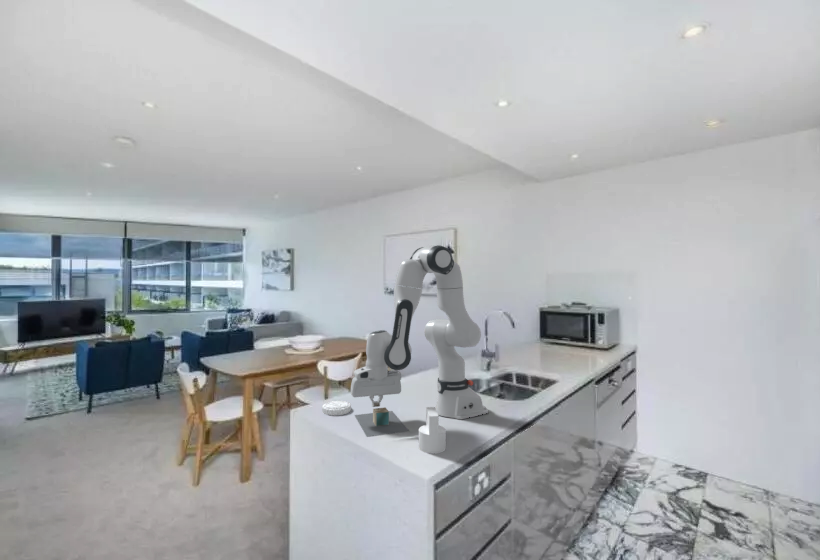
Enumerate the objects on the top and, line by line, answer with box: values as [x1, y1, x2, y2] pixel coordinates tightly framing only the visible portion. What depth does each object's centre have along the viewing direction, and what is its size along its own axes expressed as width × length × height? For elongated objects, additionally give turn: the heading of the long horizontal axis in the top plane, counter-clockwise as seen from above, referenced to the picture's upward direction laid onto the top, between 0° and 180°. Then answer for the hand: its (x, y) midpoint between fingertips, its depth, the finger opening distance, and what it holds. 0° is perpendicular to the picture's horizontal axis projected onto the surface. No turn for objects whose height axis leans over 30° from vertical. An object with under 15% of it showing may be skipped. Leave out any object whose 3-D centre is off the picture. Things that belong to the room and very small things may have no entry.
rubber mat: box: [354, 410, 410, 438], centre depth 148 cm, size 16×23×1 cm
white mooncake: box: [321, 399, 352, 416], centre depth 162 cm, size 12×12×4 cm
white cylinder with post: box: [418, 406, 447, 455], centre depth 128 cm, size 9×9×12 cm
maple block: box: [372, 407, 390, 426], centre depth 148 cm, size 5×5×5 cm
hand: (375, 406), depth 152 cm, fingers closed
